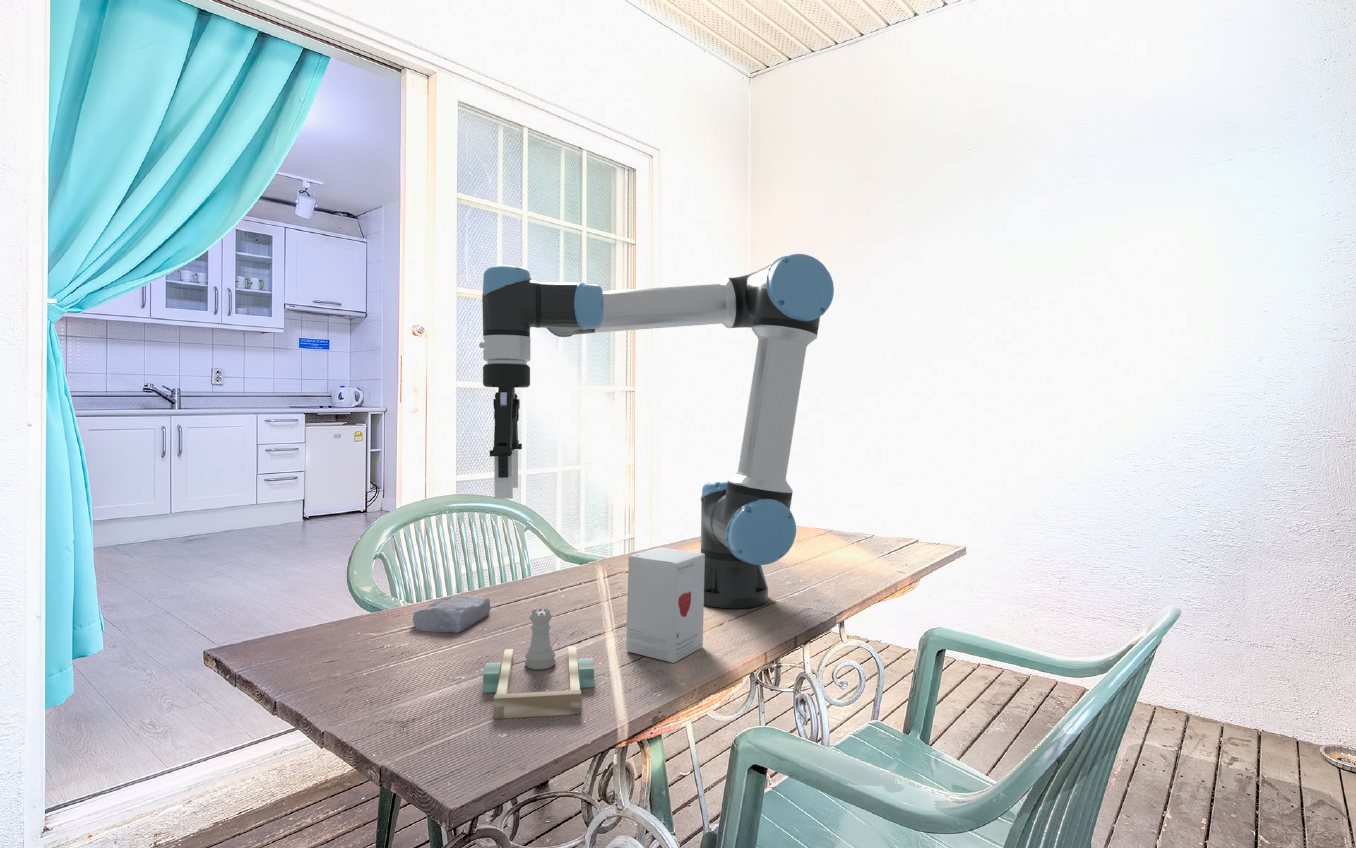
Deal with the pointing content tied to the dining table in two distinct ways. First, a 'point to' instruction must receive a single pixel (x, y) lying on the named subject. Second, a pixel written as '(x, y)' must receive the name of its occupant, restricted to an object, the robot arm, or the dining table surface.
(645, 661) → the dining table surface
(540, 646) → the rook chess piece
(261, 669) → the dining table surface
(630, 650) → the supplement box
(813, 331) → the robot arm
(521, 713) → the beam track
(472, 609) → the stone block
